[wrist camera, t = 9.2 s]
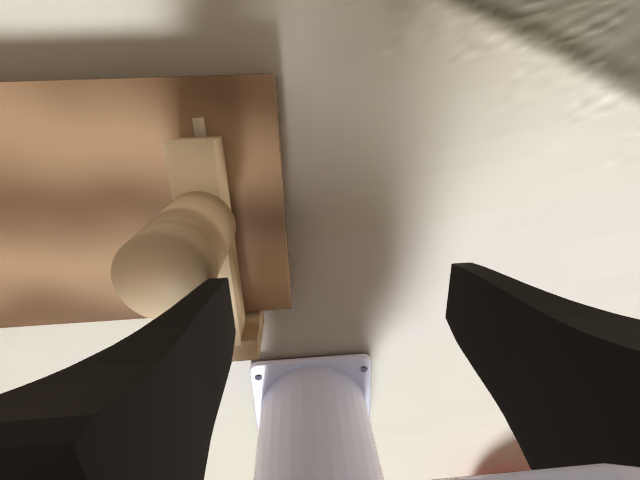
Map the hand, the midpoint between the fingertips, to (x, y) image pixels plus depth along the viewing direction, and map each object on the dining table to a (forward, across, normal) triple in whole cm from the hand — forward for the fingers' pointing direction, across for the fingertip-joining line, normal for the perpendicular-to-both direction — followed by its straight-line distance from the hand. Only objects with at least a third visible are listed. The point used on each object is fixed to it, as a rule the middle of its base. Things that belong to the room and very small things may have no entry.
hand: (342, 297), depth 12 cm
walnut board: (+9, +12, -1) cm, 15 cm away
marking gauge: (+9, +6, 0) cm, 11 cm away
